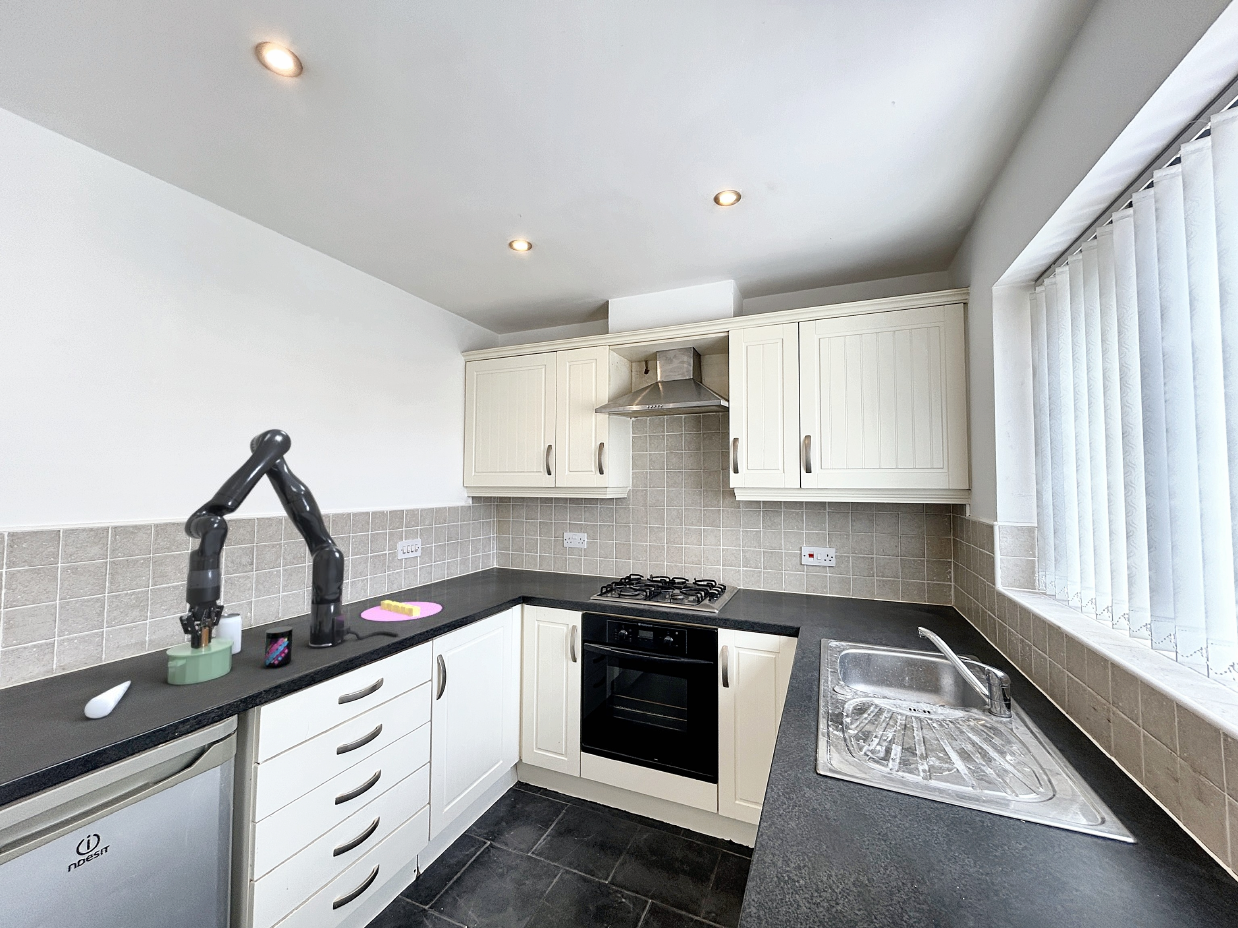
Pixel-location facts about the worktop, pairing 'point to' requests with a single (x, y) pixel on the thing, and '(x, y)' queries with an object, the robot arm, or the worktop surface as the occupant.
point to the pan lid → (205, 648)
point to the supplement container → (278, 646)
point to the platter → (400, 611)
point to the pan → (199, 667)
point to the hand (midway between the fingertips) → (201, 645)
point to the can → (230, 630)
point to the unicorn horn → (105, 701)
